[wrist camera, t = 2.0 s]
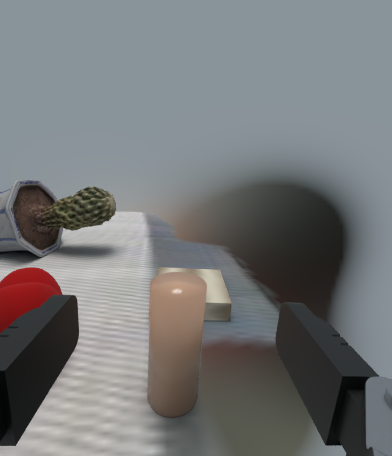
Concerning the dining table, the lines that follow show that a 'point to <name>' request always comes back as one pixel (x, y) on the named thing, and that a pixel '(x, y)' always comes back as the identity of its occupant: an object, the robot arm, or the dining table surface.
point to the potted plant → (47, 215)
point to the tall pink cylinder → (175, 341)
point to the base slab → (209, 292)
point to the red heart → (24, 293)
